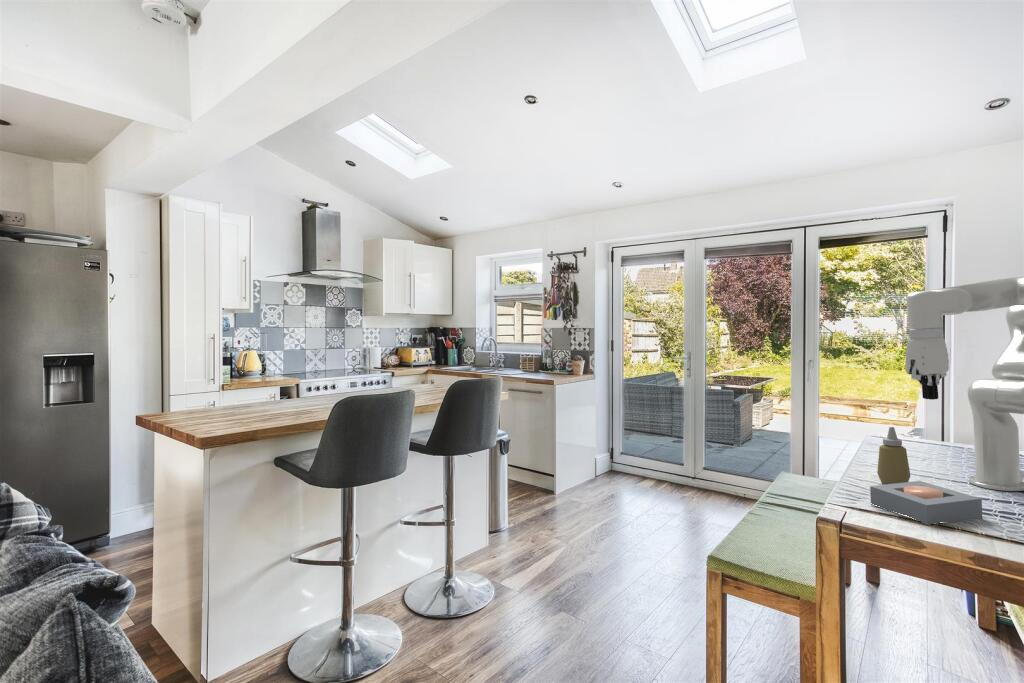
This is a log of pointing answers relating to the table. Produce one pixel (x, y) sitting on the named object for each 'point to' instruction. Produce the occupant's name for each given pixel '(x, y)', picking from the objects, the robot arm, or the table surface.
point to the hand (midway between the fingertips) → (930, 398)
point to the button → (923, 492)
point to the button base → (927, 503)
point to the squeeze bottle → (893, 460)
